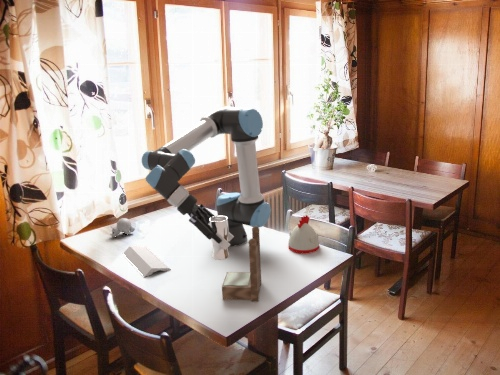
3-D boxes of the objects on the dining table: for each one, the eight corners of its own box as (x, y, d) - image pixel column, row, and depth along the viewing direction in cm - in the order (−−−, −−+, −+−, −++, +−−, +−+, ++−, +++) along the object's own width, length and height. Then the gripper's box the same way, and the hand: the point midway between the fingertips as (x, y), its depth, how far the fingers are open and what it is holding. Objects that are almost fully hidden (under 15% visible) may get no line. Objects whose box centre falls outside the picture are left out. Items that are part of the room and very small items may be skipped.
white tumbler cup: (207, 256, 175) (204, 218, 171) (221, 251, 179) (219, 213, 175) (219, 262, 170) (217, 223, 166) (234, 256, 174) (232, 218, 170)
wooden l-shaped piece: (222, 301, 172) (218, 240, 165) (228, 282, 186) (224, 225, 180) (258, 301, 171) (255, 240, 164) (261, 282, 185) (259, 225, 178)
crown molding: (171, 271, 199) (170, 263, 198) (143, 279, 193) (142, 271, 192) (147, 248, 223) (146, 241, 222) (121, 255, 217) (120, 248, 216)
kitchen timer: (324, 246, 216) (324, 215, 212) (307, 256, 206) (307, 224, 202) (300, 239, 225) (299, 209, 221) (282, 248, 215) (281, 217, 211)
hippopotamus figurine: (112, 240, 241) (104, 227, 237) (131, 226, 246) (124, 213, 242) (117, 244, 236) (108, 231, 232) (137, 230, 240) (129, 217, 237)
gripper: (183, 199, 181) (227, 239, 183) (168, 217, 162) (217, 261, 164) (196, 185, 178) (240, 226, 181) (182, 202, 160) (232, 247, 162)
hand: (229, 243), depth 173 cm, fingers closed on white tumbler cup, 7 cm apart
